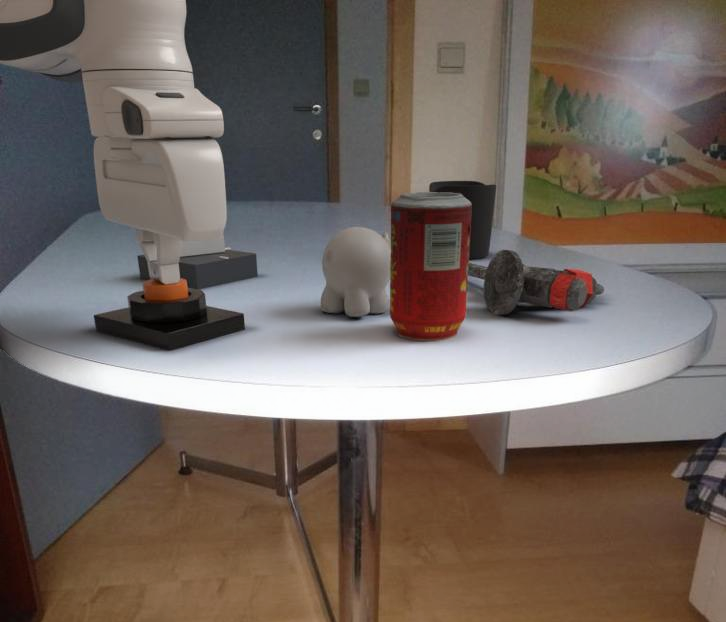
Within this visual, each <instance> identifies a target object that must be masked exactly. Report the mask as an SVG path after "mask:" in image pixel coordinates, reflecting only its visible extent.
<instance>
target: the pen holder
mask: <svg viewBox="0 0 726 622" xmlns="http://www.w3.org/2000/svg"><path fill="white" fill-rule="evenodd" d="M428 186H429V187H428V192H439V193H440V192H447V193H460V194H462V195H463V196H464V197H465V198H466V199H468V200H469V201H470V202H471V204H472V215H471V232H470V250H469V261H476V260H482V259H485V258H487V257H488V256H489V255H490V254H489V253H490V246H491V240H492V230H493V221H494V213H495V203H496V194H497V185H496V184H494V183H493V184H485V183H484V182H480V181H476V180H441V181H440V180H439V181H432V182H430V183H429V185H428Z"/></svg>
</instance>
